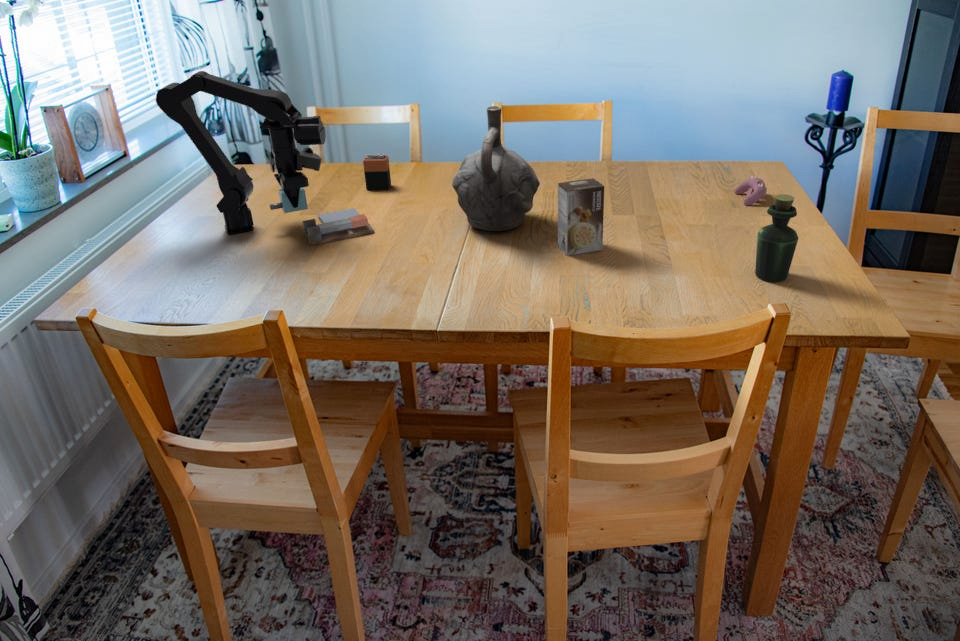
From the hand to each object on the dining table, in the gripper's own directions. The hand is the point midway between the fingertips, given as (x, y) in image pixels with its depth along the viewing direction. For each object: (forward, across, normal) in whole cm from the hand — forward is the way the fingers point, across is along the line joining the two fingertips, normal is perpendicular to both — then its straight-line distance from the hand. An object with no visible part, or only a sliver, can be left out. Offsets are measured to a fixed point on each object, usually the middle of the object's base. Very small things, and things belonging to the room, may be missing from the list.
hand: (294, 204), depth 193 cm
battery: (+7, +19, -28) cm, 34 cm away
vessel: (+7, -23, -46) cm, 52 cm away
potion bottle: (+7, -78, -87) cm, 117 cm away
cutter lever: (+5, -10, -9) cm, 14 cm away
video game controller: (+7, -40, -114) cm, 121 cm away
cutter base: (+6, -10, -9) cm, 15 cm away
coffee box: (+7, -46, -58) cm, 74 cm away
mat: (+6, -1, -11) cm, 13 cm away
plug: (+1, 0, +2) cm, 2 cm away
